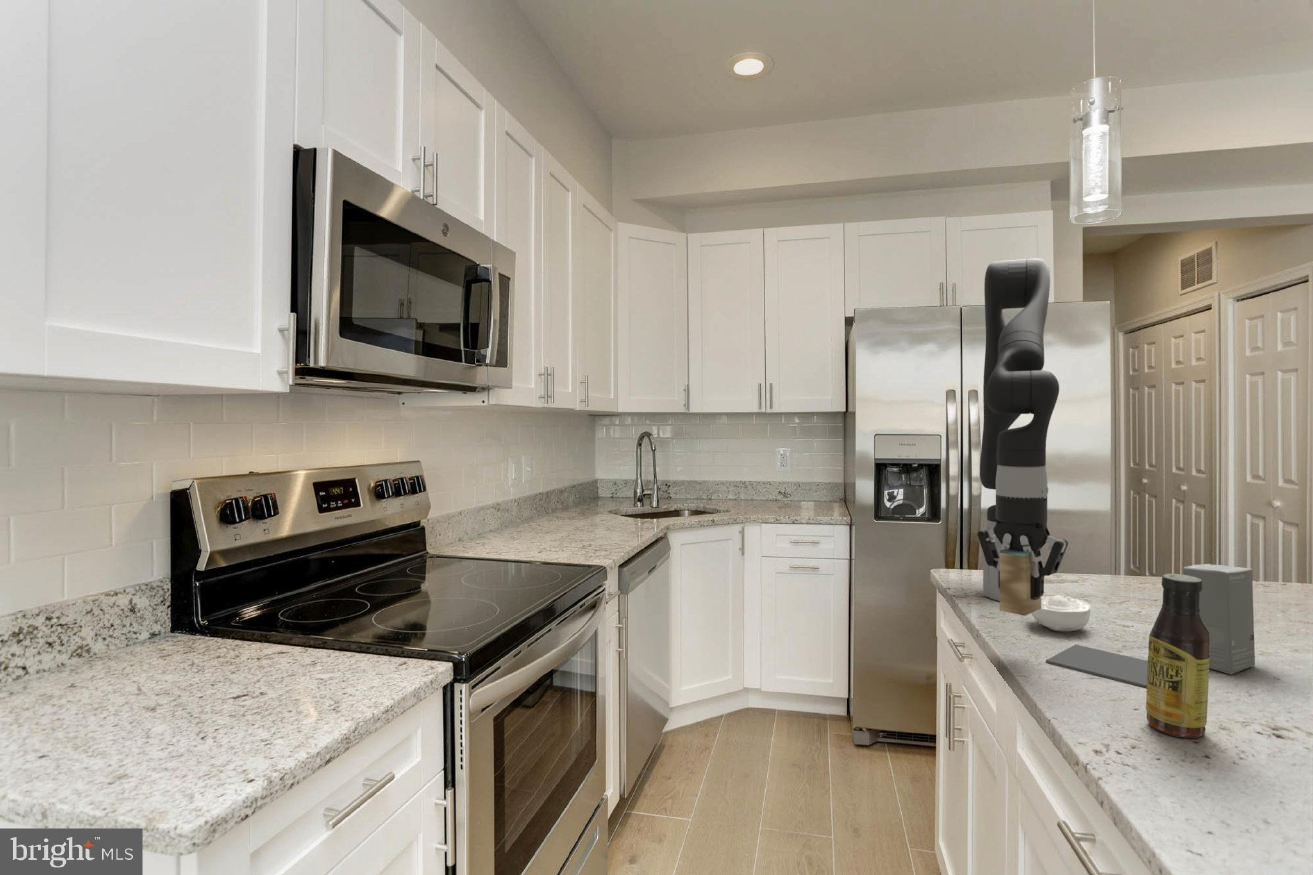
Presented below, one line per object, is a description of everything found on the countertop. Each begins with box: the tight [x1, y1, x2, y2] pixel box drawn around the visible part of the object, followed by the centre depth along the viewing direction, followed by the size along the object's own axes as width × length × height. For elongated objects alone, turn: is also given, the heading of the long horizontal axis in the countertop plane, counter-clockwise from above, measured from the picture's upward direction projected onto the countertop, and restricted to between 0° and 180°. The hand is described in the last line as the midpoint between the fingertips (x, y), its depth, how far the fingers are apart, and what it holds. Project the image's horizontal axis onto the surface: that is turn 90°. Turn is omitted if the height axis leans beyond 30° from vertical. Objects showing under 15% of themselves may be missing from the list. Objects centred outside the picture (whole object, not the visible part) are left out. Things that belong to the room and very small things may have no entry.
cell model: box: [1031, 594, 1092, 632], centre depth 130 cm, size 10×12×7 cm
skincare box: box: [1182, 563, 1256, 675], centre depth 111 cm, size 8×7×16 cm
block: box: [999, 548, 1043, 617], centre depth 113 cm, size 4×6×10 cm, turn 128°
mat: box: [1045, 644, 1148, 689], centre depth 110 cm, size 16×12×1 cm
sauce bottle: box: [1145, 573, 1210, 739], centre depth 88 cm, size 7×6×20 cm
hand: (1020, 595), depth 114 cm, fingers closed on block, 4 cm apart
